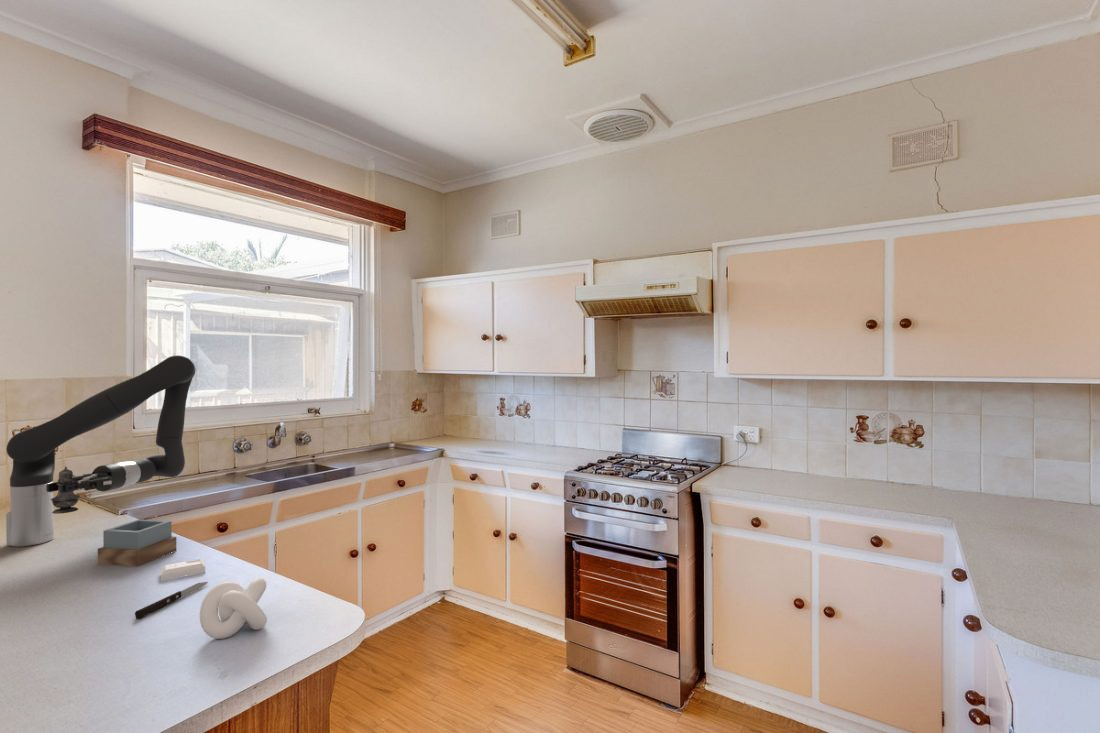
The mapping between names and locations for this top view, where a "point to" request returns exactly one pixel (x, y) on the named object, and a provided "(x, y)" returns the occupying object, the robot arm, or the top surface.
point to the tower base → (136, 554)
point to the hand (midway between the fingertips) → (54, 488)
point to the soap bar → (182, 569)
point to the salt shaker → (65, 494)
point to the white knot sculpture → (232, 608)
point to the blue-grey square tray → (137, 534)
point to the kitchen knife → (167, 601)
